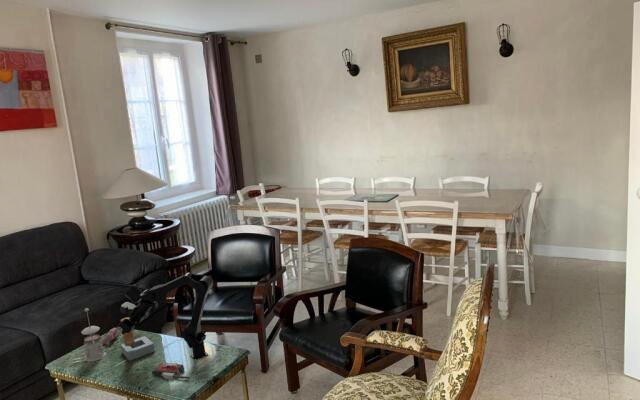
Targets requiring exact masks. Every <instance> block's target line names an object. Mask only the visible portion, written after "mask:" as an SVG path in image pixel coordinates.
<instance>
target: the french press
mask: <svg viewBox="0 0 640 400" xmlns="http://www.w3.org/2000/svg"><path fill="white" fill-rule="evenodd" d="M88 311H90V309H89V308H88V307H86V308H84V312H86V314H87V320H88V325H89V326H88V327H85V328H84V329H82V331H81V332H80V333H81V334H82V335H84V336H85V335H87V337H85V338H84V340H83V341H84V342H83V346H84V351H85V357H84V361H85V362H95V361H99V360H101V359H103V358H105V356H106V355H107V352H106V351H104V346H103V345H104V344H102V340H103V339H102V337H101V335H100V334H95V333H97V332H98V331H100V329H101V328H100V327H99V326H96V325H91V324H90V319H89V314H88Z"/></svg>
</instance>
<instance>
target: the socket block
mask: <svg viewBox="0 0 640 400" xmlns="http://www.w3.org/2000/svg"><path fill="white" fill-rule="evenodd" d="M134 341H135V344H133V345H131V346H125V342H124V343H121V344H120V349H121V353H122V354H123V355H124V357H126V358H127V360H128V361H133V360H135V359H139V358H140V357H143V356H145V355H148V354H150V353H153V352H155V345H154V342H152V341H151V339H149V338H148V337H147V336H145V335H144V336H141V337H137V338H134Z"/></svg>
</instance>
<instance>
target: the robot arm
mask: <svg viewBox="0 0 640 400" xmlns="http://www.w3.org/2000/svg"><path fill="white" fill-rule="evenodd" d="M184 285H187V286H188V287H190V288H191V289H194V290H195V294H196V299H195V302H194V306H193V311H192V315H191V319H190V321H189V322H188V324H187V325H186V326H184V332H183V334H182V336H183V340H184V341H185V342H186V344H187V346H188V347H189V349H191V352H192V353H191V354H190V355H189V356H190V357H191V358H193V359H194V360H195V361H198V360H200V359H202V358H206V357H207V355H208V356H209V353H208V352H207V351H206V348H205V340H206V339H207V334H205V333H204V332H203V331H202V325H201V321H202V317H203V312H204V308H205V306H206V305H205V304H206V302H207V301H206V300H207V298H208V295H209V293H210V291H211V289H212V287H213V285H214V280H213V278H212V277H211V276H209V275H203V274H198V273H197V274H196V273H192V272H186V273H185V274H183V275H180V276H179V277H177V278H175V279H173V280H171V281H168V282H167V283H163V284H158V285H155V286H152V288H147V289H145V290H143V289H141V288H140V287H139V286H138V285H137V284H135V283H134V284H133V286H131V287H130V289H129V290H127V291H126V292H125V294H124V297H126V298H128V299H129V300H130V301H131V302H129V301H126V302H124V303H122V304H121V306H120V307H119V311H120V313H122V314H124V315H125V314H127V318H128V317H129V320H128V319H124V320H122V321H121V320H120V322H119V324H118V327H120V329H121V334H122V335H123V334H125V333H130V332H131V331H132V330H134V329H135V328H136V326H137V325H140V324H142V322H143V321H144V320H145V319H147V318H148V316H149V315H150V310H151V309H153V310H155V309H157V308H158V307H159V303H158V300H159V299H161V298H162V297H163V296H165V295H166V294H168V293H169V292H172V291H174V290H176V289H178V288H180V287H182V286H184ZM132 302H133V303H132ZM136 303H138V304H137V305H135V304H136ZM130 320H131V321H130ZM122 329H123V330H122Z"/></svg>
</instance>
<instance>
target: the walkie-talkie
mask: <svg viewBox="0 0 640 400" xmlns="http://www.w3.org/2000/svg"><path fill="white" fill-rule="evenodd" d="M184 371H185V367H184V364H183V363H182V364H179V363H177V362H161V363H159V364H158V365H157V366H155V367H154V370H152V371H151V374H152V375H155V376H162V377H163V378H164V379H166V380H174V379H182V380H184V379H186V380H189V379H191V378H190V376H185V375H180V374H181V373H183V372H184Z"/></svg>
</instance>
